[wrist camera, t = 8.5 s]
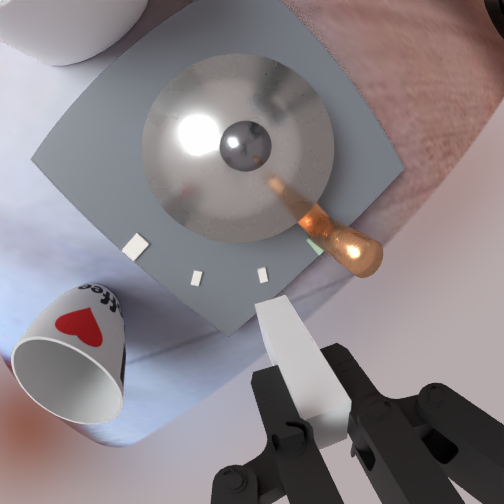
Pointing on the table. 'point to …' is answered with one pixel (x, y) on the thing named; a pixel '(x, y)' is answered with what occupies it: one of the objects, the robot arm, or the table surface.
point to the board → (134, 179)
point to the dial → (247, 157)
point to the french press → (496, 14)
